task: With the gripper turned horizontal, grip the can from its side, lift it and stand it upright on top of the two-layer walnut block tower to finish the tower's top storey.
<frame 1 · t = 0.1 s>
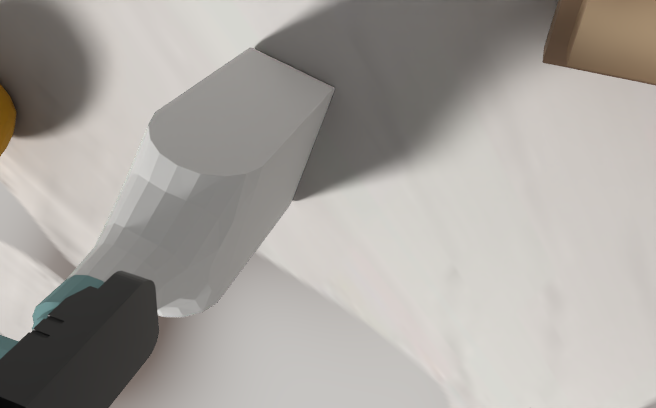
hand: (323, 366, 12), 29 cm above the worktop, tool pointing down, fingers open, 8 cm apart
soap bottle: (285, 133, 45), on the worktop
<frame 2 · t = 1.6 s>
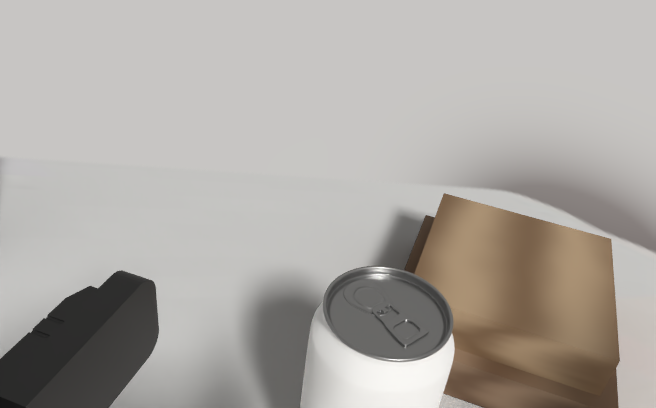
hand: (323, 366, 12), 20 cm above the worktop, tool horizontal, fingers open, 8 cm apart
tower base: (493, 329, 42), on the worktop
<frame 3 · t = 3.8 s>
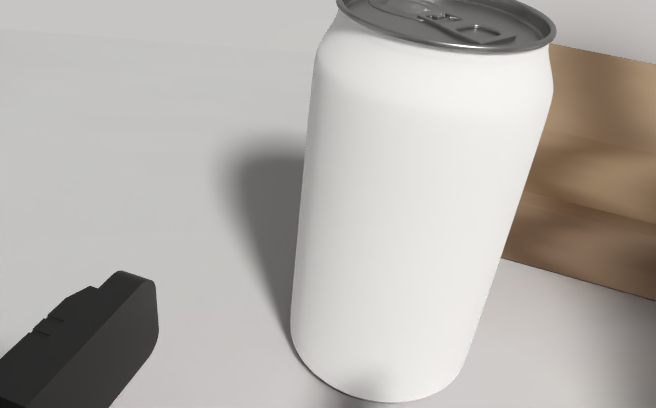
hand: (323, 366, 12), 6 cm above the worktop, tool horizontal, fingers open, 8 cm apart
can: (375, 341, 22), on the worktop
tower base: (552, 193, 32), on the worktop
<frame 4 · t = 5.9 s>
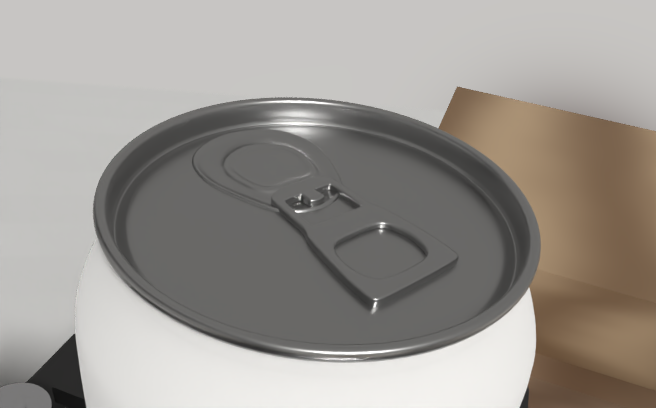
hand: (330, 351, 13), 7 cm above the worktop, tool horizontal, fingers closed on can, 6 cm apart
tower base: (547, 308, 24), on the worktop
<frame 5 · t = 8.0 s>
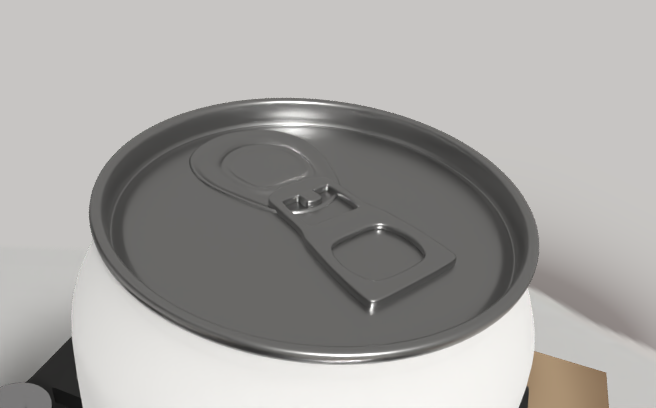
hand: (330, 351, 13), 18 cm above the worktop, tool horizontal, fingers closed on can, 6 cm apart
when the fingers open (14 cm above the worktop, at t = 10.1 s): can stays where it is, resting on tower base.
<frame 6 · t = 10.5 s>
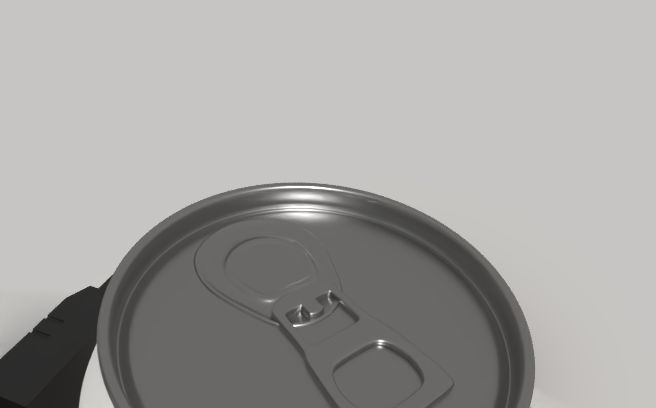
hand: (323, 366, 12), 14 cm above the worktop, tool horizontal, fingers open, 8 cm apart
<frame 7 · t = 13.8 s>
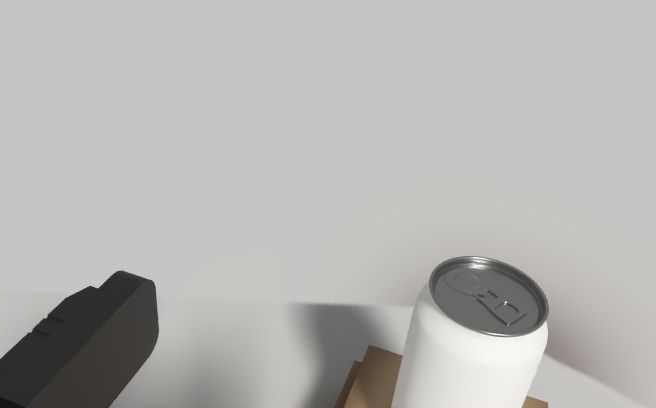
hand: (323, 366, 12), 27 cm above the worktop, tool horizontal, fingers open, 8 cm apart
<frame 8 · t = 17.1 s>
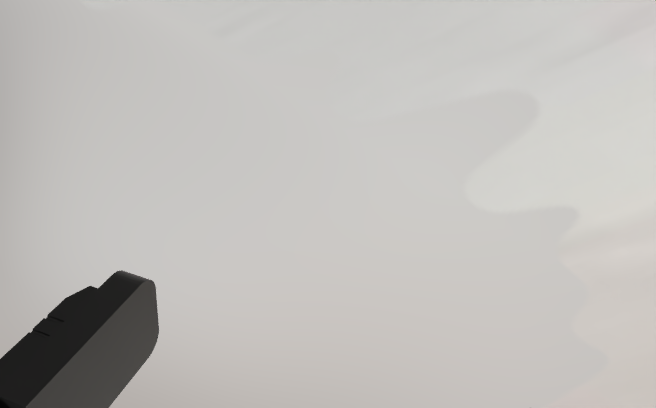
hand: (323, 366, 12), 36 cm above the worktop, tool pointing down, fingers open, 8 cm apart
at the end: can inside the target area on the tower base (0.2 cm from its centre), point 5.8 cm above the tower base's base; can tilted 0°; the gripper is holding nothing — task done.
